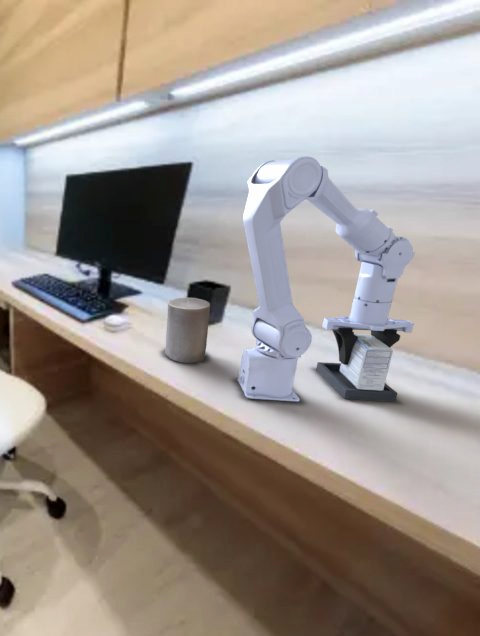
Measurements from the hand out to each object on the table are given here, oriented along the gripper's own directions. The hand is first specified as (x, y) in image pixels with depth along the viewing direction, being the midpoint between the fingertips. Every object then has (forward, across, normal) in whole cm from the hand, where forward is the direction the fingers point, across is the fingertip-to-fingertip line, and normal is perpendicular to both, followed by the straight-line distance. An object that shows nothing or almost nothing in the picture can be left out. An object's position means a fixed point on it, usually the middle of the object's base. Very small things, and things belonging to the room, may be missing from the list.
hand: (357, 363), depth 77 cm
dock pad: (+5, 0, 0) cm, 5 cm away
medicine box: (+3, 0, -2) cm, 4 cm away
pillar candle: (+5, -32, +11) cm, 34 cm away
